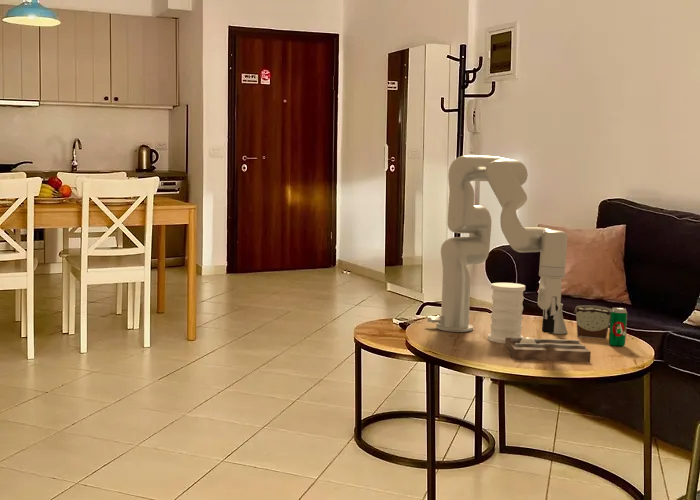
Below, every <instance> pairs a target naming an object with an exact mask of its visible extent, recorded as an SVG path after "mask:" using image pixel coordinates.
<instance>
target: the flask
mask: <svg viewBox="0 0 700 500" xmlns="http://www.w3.org/2000/svg"><path fill="white" fill-rule="evenodd" d="M563 306H564V304H563V303H560V310H559V311H555V322H554V332H553V333H552V334H554V335H555V334H556V335H567V333H568V330H567V326H566V323H565V318H564V316H563Z"/></svg>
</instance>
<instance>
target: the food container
mask: <svg viewBox="0 0 700 500" xmlns="http://www.w3.org/2000/svg"><path fill="white" fill-rule="evenodd" d="M611 310H612V308H609V307H606V306H600V305H590V304H589V305H577V306H575V309H574V312H573V314H575V315H576V317H575V318H576V319H575V320H576V336H577V337H578V338H579V337H581V338H588V339H589V338H590V339H591V338H592V339H599V338H600V339H601V340H607V337H608V334H609V332H608V331H609V328H610V313H611ZM600 339H599V340H600Z"/></svg>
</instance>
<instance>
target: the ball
mask: <svg viewBox="0 0 700 500" xmlns="http://www.w3.org/2000/svg"><path fill="white" fill-rule="evenodd" d="M534 339H535V338H533V337H529V336H526V337H524V338H523V339H522V340H521V341H520V343H531V344H536V342H535V340H534Z"/></svg>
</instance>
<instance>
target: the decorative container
mask: <svg viewBox="0 0 700 500" xmlns="http://www.w3.org/2000/svg"><path fill="white" fill-rule="evenodd" d="M490 289H492V295H491V300H492V303H491V314H490V319H491V322H490V326H489V327H490V332H489V333H488V334H487V340H488V341H490V342H494V343H499V344H505V338H525V337H524V336H523V335H522V330H523V325H522V321H523V320H524V319H523V317H524V316H523V310H524V306H523V302H524V299H525V298H524V292H525V291H526V285H525V284H522V283H516V282H515V283H514V282H493V283H491V286H490Z"/></svg>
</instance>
